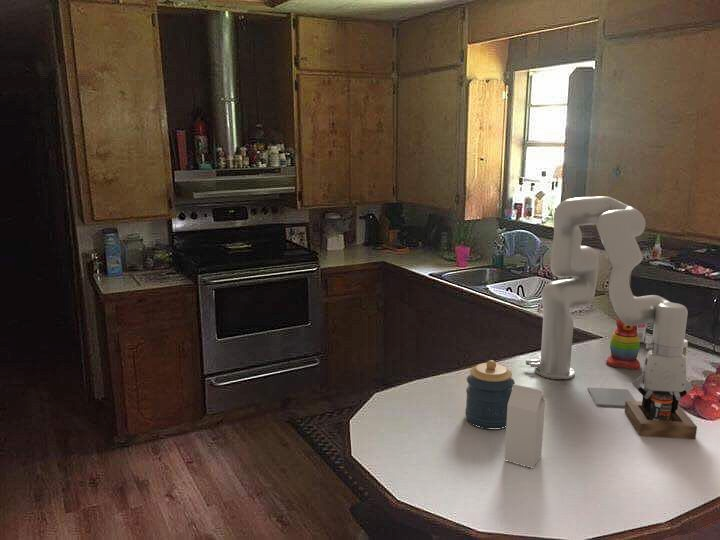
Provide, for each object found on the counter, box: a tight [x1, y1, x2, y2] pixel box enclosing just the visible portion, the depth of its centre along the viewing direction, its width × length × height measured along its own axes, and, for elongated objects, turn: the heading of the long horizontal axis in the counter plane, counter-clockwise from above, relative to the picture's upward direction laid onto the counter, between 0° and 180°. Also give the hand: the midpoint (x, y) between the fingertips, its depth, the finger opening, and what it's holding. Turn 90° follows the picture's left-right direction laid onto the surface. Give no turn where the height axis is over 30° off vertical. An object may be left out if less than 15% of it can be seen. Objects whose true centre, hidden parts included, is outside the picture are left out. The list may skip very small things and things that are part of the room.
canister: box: [464, 359, 516, 428], centre depth 169 cm, size 13×13×18 cm
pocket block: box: [624, 400, 698, 440], centre depth 167 cm, size 14×14×4 cm
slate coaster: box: [587, 386, 637, 408], centre depth 184 cm, size 12×12×1 cm
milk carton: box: [503, 383, 546, 469], centre depth 149 cm, size 7×7×19 cm
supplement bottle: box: [646, 391, 673, 421], centre depth 167 cm, size 6×6×11 cm
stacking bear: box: [605, 315, 641, 371], centre depth 210 cm, size 11×10×18 cm
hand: (659, 410), depth 167 cm, fingers closed on supplement bottle, 6 cm apart
